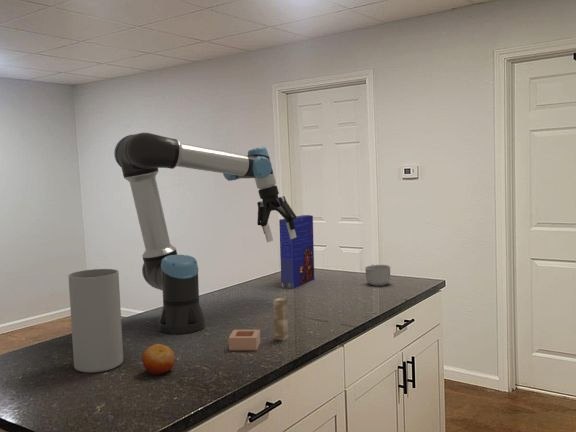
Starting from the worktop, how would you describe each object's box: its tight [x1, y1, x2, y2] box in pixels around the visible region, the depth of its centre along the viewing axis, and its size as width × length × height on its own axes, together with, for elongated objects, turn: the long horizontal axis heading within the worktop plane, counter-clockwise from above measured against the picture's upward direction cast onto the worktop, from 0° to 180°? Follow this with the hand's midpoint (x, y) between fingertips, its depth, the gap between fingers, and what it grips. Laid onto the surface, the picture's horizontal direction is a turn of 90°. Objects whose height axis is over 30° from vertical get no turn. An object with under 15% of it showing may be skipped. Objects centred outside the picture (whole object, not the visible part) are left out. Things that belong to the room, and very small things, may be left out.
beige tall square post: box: [273, 297, 289, 341], centre depth 165 cm, size 3×3×12 cm
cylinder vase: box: [68, 268, 124, 374], centre depth 145 cm, size 12×12×25 cm
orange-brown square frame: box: [228, 329, 261, 351], centre depth 159 cm, size 8×8×4 cm
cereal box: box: [278, 214, 315, 290], centre depth 245 cm, size 22×6×30 cm, turn 153°
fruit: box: [141, 343, 175, 376], centre depth 140 cm, size 8×8×8 cm
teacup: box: [364, 264, 391, 287], centre depth 240 cm, size 14×11×8 cm
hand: (281, 239), depth 212 cm, fingers open, 13 cm apart
